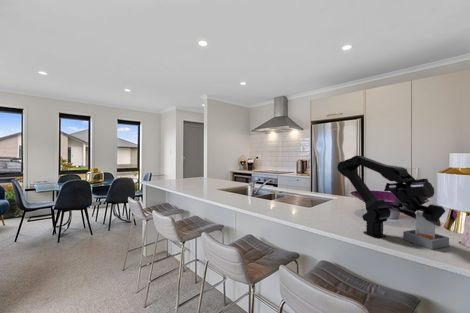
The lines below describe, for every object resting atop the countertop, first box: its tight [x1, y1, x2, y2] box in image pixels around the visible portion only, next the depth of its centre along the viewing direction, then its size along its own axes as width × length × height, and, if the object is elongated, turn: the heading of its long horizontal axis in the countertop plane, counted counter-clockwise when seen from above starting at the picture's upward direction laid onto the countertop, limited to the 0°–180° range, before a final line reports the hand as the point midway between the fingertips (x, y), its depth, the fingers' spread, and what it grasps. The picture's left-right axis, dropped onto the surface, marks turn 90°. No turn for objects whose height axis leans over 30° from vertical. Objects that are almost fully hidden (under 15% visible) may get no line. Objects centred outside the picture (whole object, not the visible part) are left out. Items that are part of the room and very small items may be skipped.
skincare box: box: [414, 211, 436, 240], centre depth 89 cm, size 6×4×12 cm
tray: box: [402, 229, 450, 251], centre depth 90 cm, size 10×10×4 cm
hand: (427, 221), depth 90 cm, fingers open, 9 cm apart
